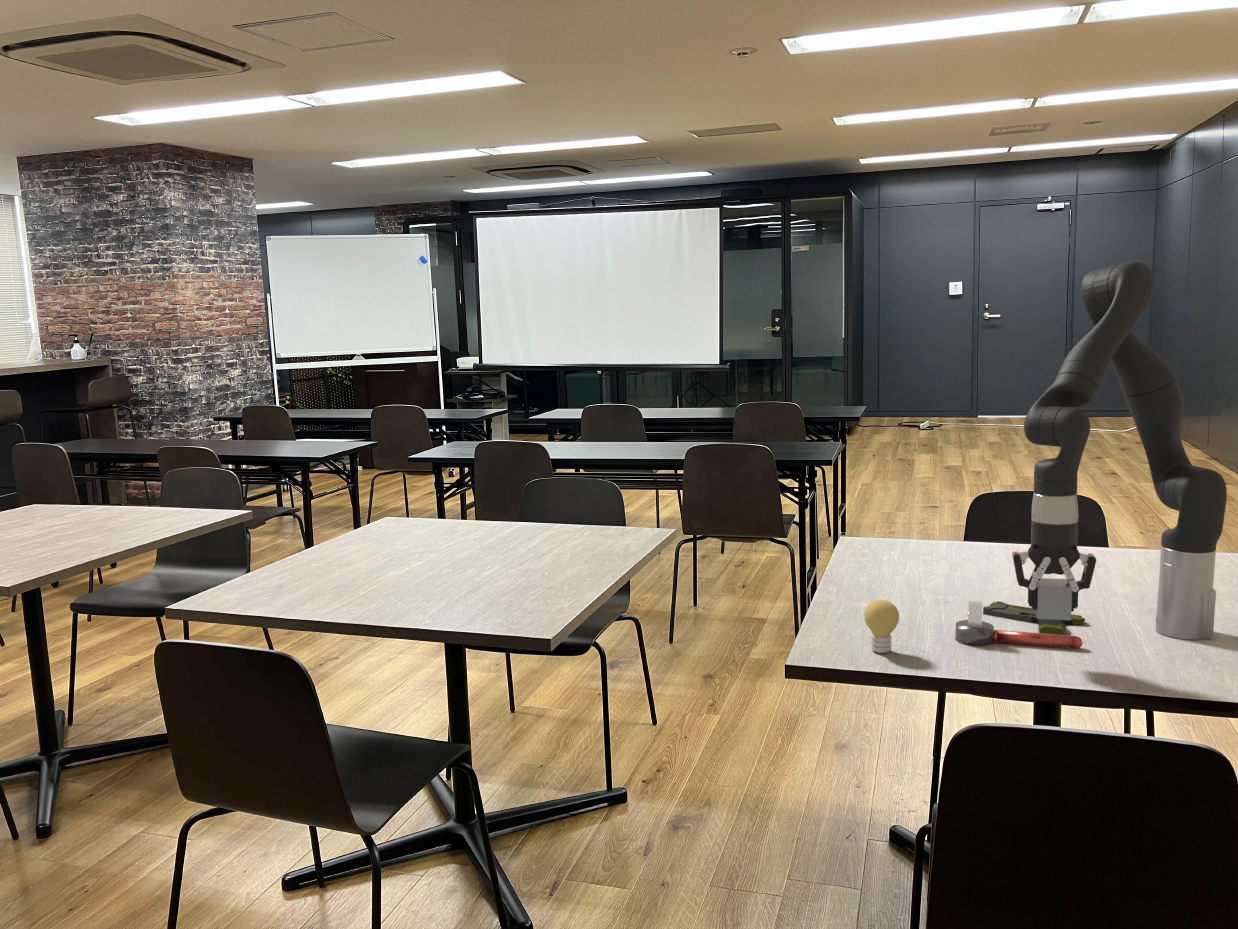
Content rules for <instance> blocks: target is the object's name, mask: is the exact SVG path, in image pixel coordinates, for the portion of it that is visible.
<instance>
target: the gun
mask: <svg viewBox="0 0 1238 929" xmlns="http://www.w3.org/2000/svg"><path fill="white" fill-rule="evenodd" d="M982 615H985V616H991V617H996V618H1003V619H1009V620H1015V621H1016V620H1017V621H1021V622H1022V621H1023V622H1028V623H1031V624H1032V623H1033V624H1038V628H1037V629H1038V633H1043V634H1056V635H1066V625H1073V626H1074V625H1075V626H1083V625H1084V624H1085V622H1086V618H1085V617H1083V616H1082V615H1080V614H1072V613H1071V620H1054V619H1037V616H1036V613H1035V610H1032V607H1027V606H1021V605H1015V604H1008V603H1006V602H1004V601H1000V600H999V601H998V600H997V601H993V602H992V603H990V605H987V606H982Z"/></svg>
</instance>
